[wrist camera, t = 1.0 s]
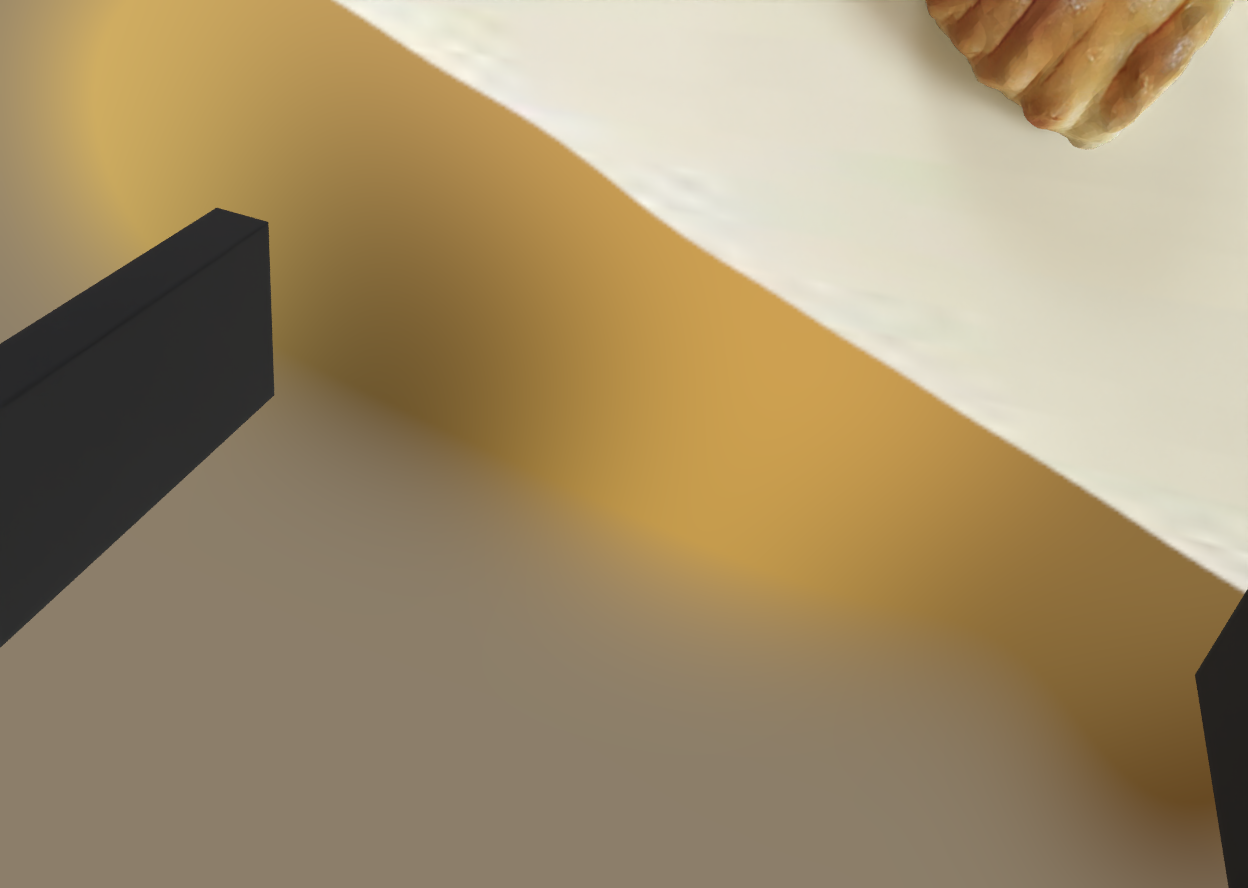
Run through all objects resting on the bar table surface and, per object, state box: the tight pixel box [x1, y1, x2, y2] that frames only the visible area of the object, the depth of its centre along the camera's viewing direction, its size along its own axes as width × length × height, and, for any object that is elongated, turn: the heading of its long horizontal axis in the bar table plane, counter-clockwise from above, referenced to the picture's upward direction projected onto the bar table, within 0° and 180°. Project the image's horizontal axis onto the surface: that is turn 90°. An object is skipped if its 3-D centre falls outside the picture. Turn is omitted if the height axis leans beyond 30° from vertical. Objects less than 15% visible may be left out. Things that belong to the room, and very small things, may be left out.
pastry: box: [926, 0, 1234, 149], centre depth 34 cm, size 9×7×4 cm
